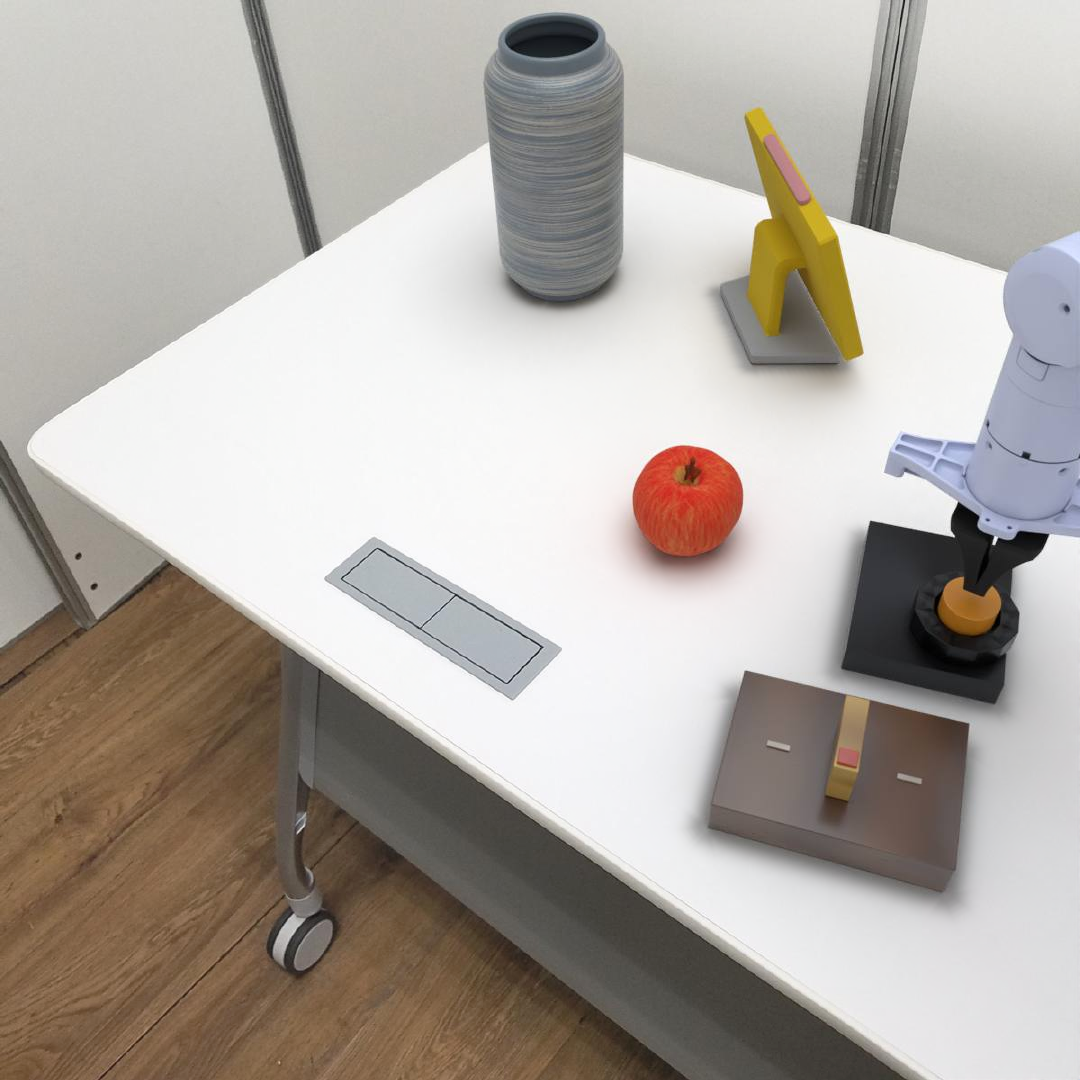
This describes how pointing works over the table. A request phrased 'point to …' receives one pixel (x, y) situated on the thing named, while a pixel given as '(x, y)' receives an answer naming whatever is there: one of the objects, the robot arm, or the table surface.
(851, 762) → the wooden block
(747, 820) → the lock plate
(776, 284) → the toy computer monitor
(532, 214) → the vase
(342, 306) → the table surface
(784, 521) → the table surface
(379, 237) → the table surface
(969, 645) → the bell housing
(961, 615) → the bell button
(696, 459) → the apple
